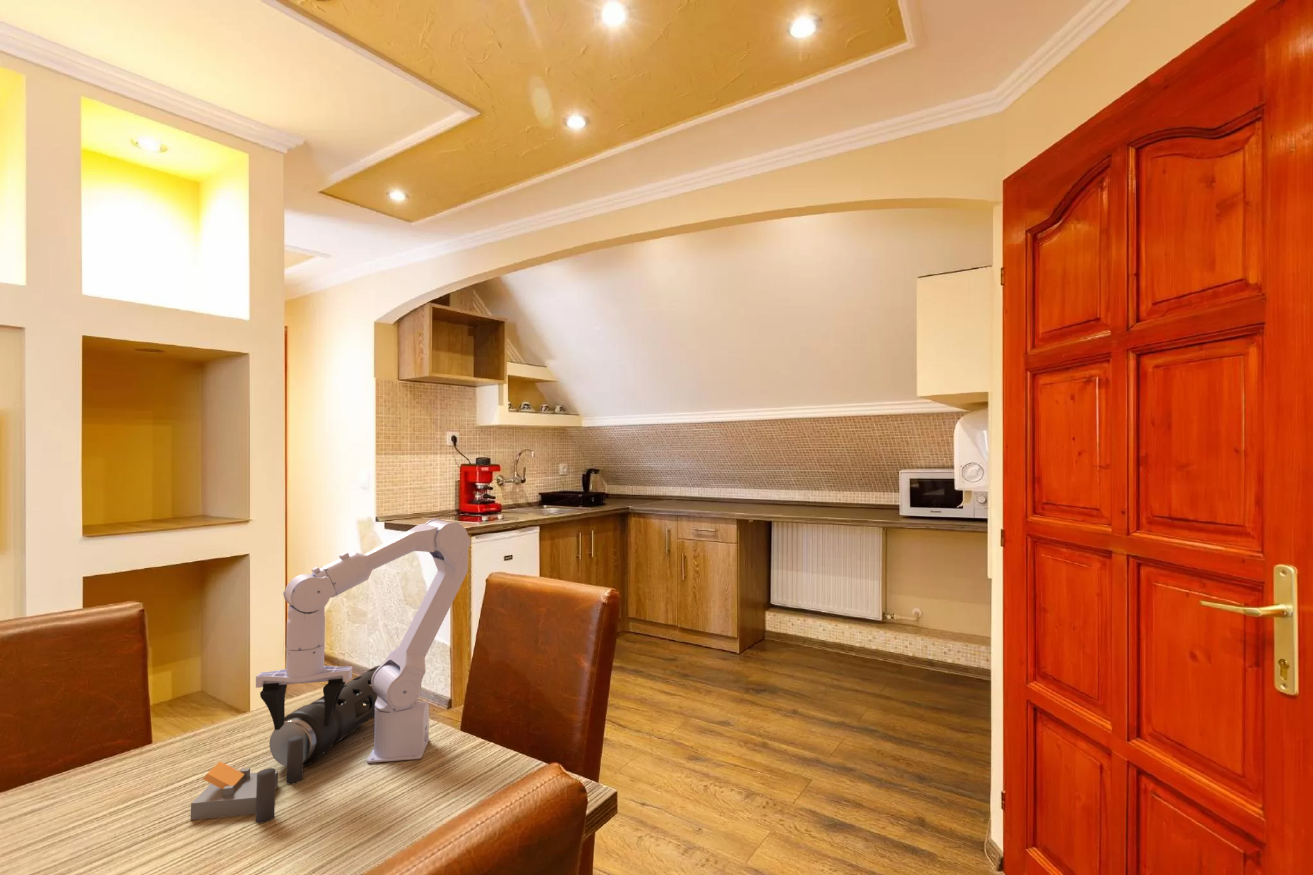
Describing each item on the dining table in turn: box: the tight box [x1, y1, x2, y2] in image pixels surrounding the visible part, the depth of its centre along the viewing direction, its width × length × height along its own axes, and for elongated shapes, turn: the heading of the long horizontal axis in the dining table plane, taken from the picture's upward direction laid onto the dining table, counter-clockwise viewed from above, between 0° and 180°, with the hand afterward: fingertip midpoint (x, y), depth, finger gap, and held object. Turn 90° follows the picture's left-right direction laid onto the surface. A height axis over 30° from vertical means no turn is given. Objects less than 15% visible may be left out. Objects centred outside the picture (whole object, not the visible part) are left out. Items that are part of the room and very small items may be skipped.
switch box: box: [190, 767, 279, 821], centre depth 97 cm, size 9×8×4 cm
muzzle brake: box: [269, 664, 382, 768], centre depth 120 cm, size 10×28×10 cm
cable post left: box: [255, 767, 276, 824], centre depth 92 cm, size 2×2×7 cm
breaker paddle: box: [202, 761, 244, 789], centre depth 96 cm, size 1×4×4 cm
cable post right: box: [285, 736, 304, 785], centre depth 103 cm, size 2×2×7 cm
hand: (304, 725), depth 103 cm, fingers open, 7 cm apart
